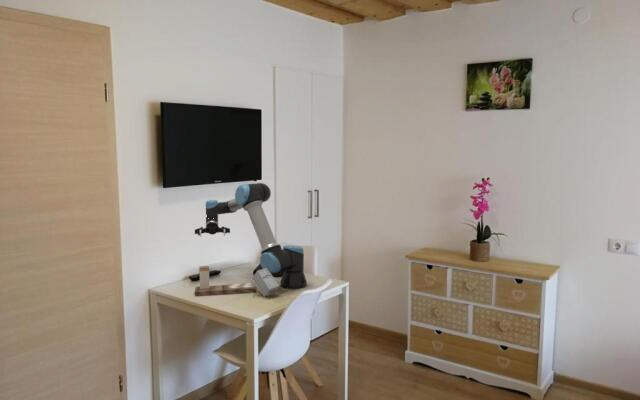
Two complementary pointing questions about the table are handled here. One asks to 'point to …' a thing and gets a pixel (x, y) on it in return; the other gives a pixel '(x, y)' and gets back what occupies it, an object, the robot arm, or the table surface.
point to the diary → (278, 274)
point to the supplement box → (265, 282)
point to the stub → (204, 277)
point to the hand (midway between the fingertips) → (212, 233)
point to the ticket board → (227, 289)
